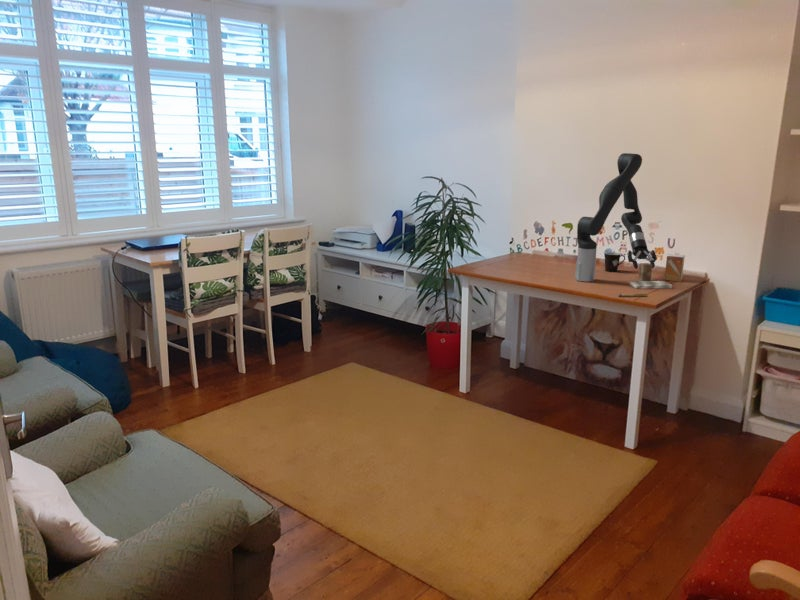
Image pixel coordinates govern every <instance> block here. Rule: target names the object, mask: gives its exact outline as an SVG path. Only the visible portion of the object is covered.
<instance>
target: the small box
mask: <svg viewBox="0 0 800 600" xmlns="http://www.w3.org/2000/svg"><path fill="white" fill-rule="evenodd" d="M685 258H686V255H683V254H667V256H666V262H665V272H664V279H663V281H673V282H680V283H681V282H682V280H683V274H684V265H685Z"/></svg>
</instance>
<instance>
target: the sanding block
mask: <svg viewBox="0 0 800 600" xmlns="http://www.w3.org/2000/svg"><path fill="white" fill-rule="evenodd" d="M638 268H639V269H638V270H639V272H638V281H652V273H653V272H652V271H653V269H652V265H651V264H650V262H646V263H645V262H642V263H641V262H640V263H639V267H638Z"/></svg>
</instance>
